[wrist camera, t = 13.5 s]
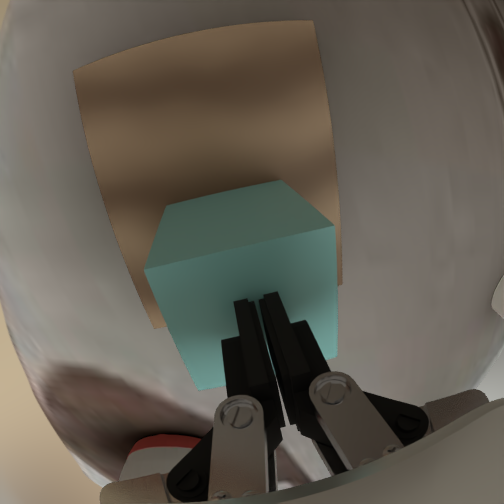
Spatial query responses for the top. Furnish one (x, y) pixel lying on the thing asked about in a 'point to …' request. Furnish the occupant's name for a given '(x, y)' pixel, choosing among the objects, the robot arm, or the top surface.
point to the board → (207, 127)
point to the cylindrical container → (499, 298)
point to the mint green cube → (241, 270)
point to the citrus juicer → (156, 455)
